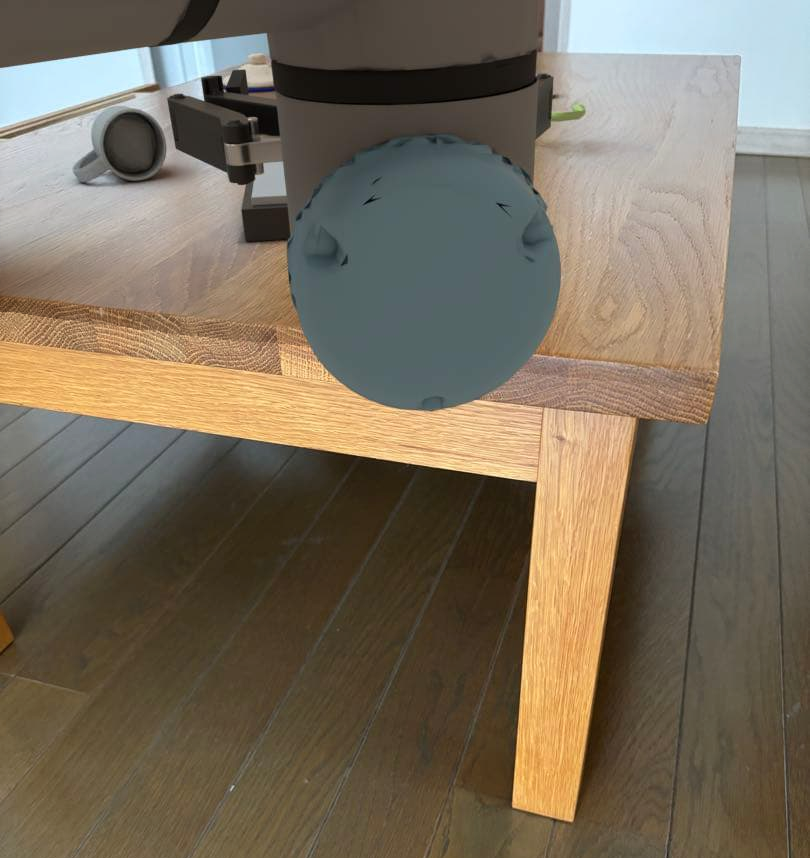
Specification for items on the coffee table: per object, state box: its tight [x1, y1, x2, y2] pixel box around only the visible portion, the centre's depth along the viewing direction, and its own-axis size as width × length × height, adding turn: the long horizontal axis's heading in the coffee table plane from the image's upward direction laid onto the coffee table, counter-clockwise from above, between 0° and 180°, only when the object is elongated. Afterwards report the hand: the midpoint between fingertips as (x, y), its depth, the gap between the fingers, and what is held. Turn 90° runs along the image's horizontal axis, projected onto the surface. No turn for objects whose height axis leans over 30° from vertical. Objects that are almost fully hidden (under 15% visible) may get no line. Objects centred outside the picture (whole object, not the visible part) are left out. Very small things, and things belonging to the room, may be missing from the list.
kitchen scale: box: [240, 162, 291, 243], centre depth 89 cm, size 16×17×4 cm
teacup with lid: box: [222, 52, 276, 99], centre depth 108 cm, size 12×9×12 cm
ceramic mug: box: [71, 105, 168, 183], centre depth 104 cm, size 11×8×8 cm
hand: (355, 88), depth 53 cm, fingers open, 13 cm apart
